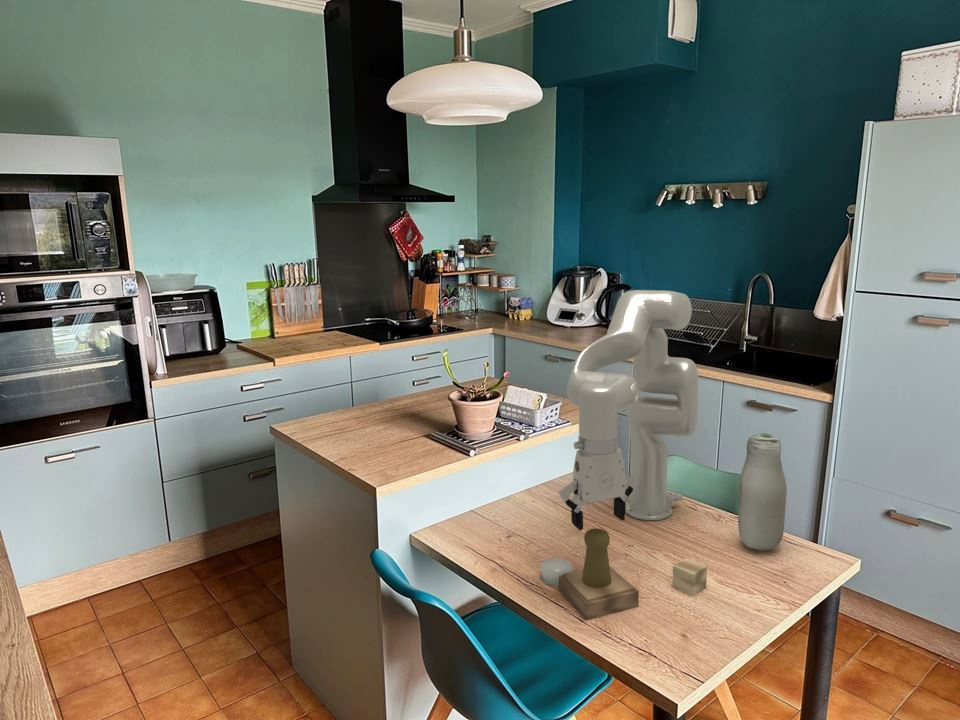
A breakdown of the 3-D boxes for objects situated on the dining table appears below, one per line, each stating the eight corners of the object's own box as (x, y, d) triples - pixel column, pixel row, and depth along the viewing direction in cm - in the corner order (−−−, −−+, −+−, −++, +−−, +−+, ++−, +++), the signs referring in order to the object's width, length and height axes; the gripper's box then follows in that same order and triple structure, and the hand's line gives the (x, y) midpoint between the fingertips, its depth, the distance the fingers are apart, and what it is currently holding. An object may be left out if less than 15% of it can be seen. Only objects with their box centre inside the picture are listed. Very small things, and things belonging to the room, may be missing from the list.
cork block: (685, 578, 150) (686, 557, 149) (706, 587, 146) (707, 566, 145) (672, 587, 147) (672, 565, 146) (693, 596, 143) (693, 574, 142)
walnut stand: (607, 578, 151) (607, 561, 150) (638, 606, 140) (638, 588, 139) (558, 590, 147) (558, 573, 146) (586, 620, 136) (586, 601, 135)
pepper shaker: (577, 583, 142) (577, 534, 140) (588, 570, 147) (588, 522, 145) (605, 590, 139) (605, 540, 137) (615, 576, 144) (615, 528, 142)
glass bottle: (766, 535, 168) (772, 426, 163) (790, 555, 159) (798, 439, 153) (728, 539, 167) (733, 429, 161) (750, 559, 157) (756, 443, 151)
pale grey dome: (563, 567, 157) (563, 555, 156) (578, 582, 150) (578, 570, 150) (535, 574, 154) (535, 562, 154) (549, 589, 148) (549, 576, 147)
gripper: (568, 457, 130) (569, 539, 134) (646, 442, 136) (645, 521, 140) (550, 445, 137) (552, 523, 141) (625, 431, 143) (625, 506, 147)
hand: (598, 522), depth 141 cm, fingers open, 9 cm apart
